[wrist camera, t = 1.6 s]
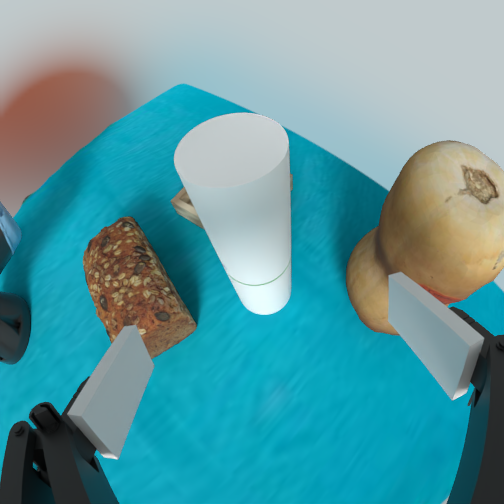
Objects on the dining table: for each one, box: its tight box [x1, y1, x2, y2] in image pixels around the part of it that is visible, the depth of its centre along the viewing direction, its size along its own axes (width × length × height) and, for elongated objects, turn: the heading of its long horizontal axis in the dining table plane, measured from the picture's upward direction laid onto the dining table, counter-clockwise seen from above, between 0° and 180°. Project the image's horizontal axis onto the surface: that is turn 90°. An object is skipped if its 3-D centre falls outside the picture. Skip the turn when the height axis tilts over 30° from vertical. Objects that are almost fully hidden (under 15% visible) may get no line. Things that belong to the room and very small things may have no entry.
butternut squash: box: [346, 140, 504, 335], centre depth 24 cm, size 14×13×25 cm
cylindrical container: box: [174, 113, 291, 315], centre depth 27 cm, size 7×7×25 cm
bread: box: [83, 217, 197, 359], centre depth 35 cm, size 19×11×10 cm, turn 35°
